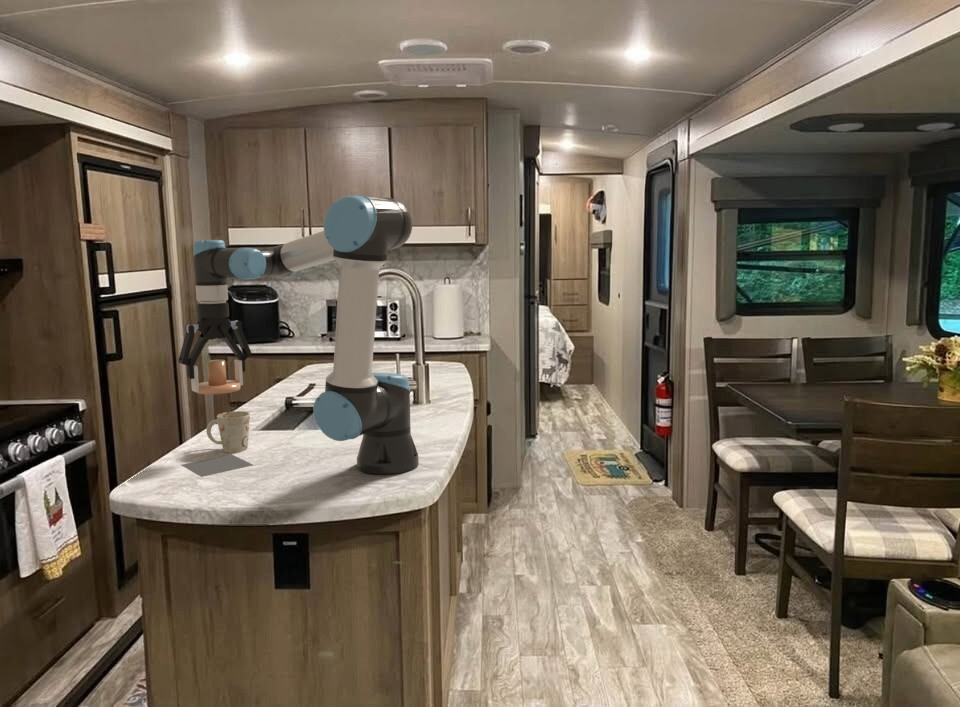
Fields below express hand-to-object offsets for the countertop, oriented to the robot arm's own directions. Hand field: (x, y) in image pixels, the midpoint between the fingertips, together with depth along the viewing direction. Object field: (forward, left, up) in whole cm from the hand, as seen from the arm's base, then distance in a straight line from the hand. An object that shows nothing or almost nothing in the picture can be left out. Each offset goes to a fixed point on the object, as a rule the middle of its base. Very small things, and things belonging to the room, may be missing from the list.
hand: (217, 387), depth 190 cm
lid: (0, 0, 0) cm, 0 cm away
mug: (+5, -4, -19) cm, 20 cm away
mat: (-7, +4, -18) cm, 20 cm away
